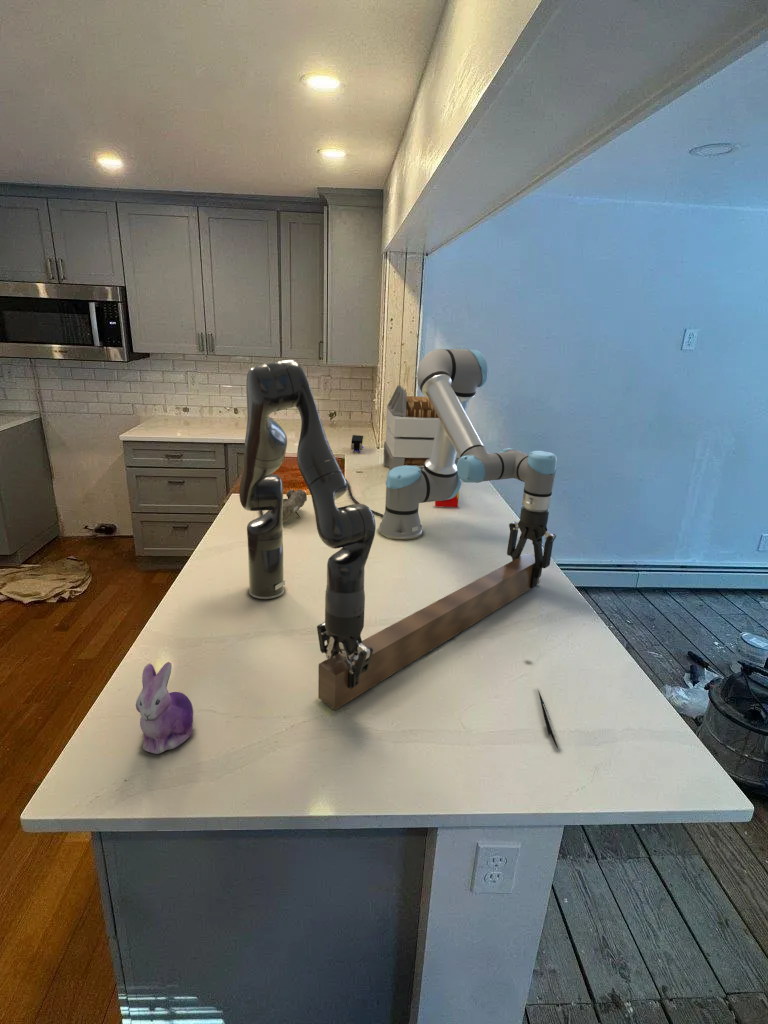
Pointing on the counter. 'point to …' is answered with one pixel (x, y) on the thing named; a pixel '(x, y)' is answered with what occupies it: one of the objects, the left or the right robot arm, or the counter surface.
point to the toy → (448, 502)
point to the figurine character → (356, 443)
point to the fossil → (293, 503)
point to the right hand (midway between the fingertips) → (524, 583)
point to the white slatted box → (409, 430)
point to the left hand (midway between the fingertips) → (343, 679)
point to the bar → (425, 630)
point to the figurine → (162, 711)
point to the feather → (547, 719)
